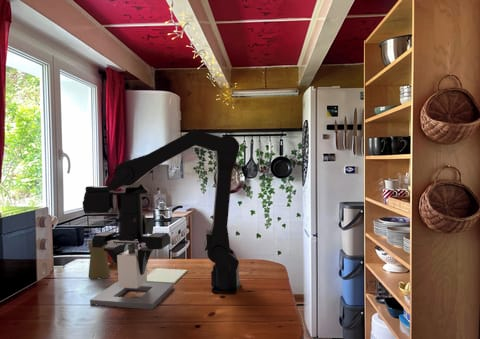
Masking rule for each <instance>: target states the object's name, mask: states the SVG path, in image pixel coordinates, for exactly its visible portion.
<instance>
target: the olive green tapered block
mask: <svg viewBox="0 0 480 339" xmlns="http://www.w3.org/2000/svg"><path fill="white" fill-rule="evenodd" d="M87 246H88V247H87V248H88V250H89V251H90V254H89V266H88V267H89V268H88V276H87V278H88V277H89V278H91V279H90V280H99V279H98V278H102V279H104V278H103V277H105V278H107V277H106V276H108V275H109V274H110V275H111V271H110V270H111V269H110V266H109V263H108V260H107V255H106V251H104V248H105V245H104V247H102V248H97V247H92V239H91V240H90V241H89V242H88V245H87ZM110 275H109V276H110ZM109 276H108V277H109ZM89 278H88V279H89Z"/></svg>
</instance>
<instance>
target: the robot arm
mask: <svg viewBox="0 0 480 339" xmlns="http://www.w3.org/2000/svg"><path fill="white" fill-rule="evenodd" d="M194 147H198V148H203V149H206V150H208V151H212V152H214V158H215V163H216V165H215V167H216V181H215V192H214V203H213V213H212V214H213V215H212V216H213V217H212V223H211V226H210V227H211V228H210V229H205V230H204V231H205V232H204V233H205V240H204V242H203V247H204V249H203V250H204V252H206V256H207V258H208V259H209V261H211V262H212V263H214V264H213V265H212V270H211V272H210V279H211V280H210V281H211V282H210V283H211V287H212V288H211V292H212V293H224V294H237V292H238V290H239V288H240V286H241V285H242V283H241V281H240V268H239V267H240V266H239V265H240V262H239V259H238V256H237V255H236V253H235V250H233V249H232V248H231V247H230V238H229V237H230V236H229V228H228V223H229V222H228V221H229V211H230V198H231V189H232V188H231V187H232V179H233V178H232V175H233V171H234V168H235V165H236V162H237V160H238V155H239V152H240V151H239V150H240V144H239V141H238V140H237V138H235V137H234V136H232V135H224V136H219V135H215V134H211V133H207V132H205V131H200V130H199V129H191V130H189V131H188V132H187V133H185V134H183V135H181V136H179V137H177V138H175V139H174V140H172V141H170V142H168V143H166V144H165V145H163V146H161V147H158V148H157V149H155V150H153V151H151V152H149V153H148V154H145V155H142V156H138V157H135V158H132V159H129V160H125V161H122V162H120V163H119V164H117V165H116V166H115V168H114V172H113V177H112V179H111V180H110V182H109V183H108V184H107V185H105V186H95V185H89V186H86V187H85V189H84V190H85V192H84V196H83V201H82V209H83V212H84V214H85V215H97V214H98V215H100V214H110V213H112V210H115V209H116V207H117V217H115V218H114V222H115V223H118V232H117V231H109V230H107V231H102V232H100V233H97V234H94V235H93V237H92V239H91V240H92V247H97V248H102V247H104V245H105V248H104V251H107V253H108V254H109V255H110V257H111V258H112V259H113V261H114V263H115V264H114V265H115V266H116V268H117V269H118V263H117V255H118V254H120V253H122V252H124V251H125V250H126V246H127V244H128V245H129V244H135V245H141V247H140V248H139V249H136V250H137V251H138V260H139V269H140V274H141V275H143V274H144V273H145V269H146V267H148V266H147V265H148V263H149V260H150V257H151V255H152V252H153V251H154V250H162V249H164V248H166V247H167V246H169V245H170V244H171V236H170V234H169V232H154V225H155V222H154V221H151V220H149V219H146V214H145V213H143V201H142V195H143V194H149V192H150V189H149V188H147V187H146V186H145V185H144V183H140V184H139V186H131V185H134V184H136V183H138V182H139V181H140V180H141V179H143V178H144V177H145V176H147V175H148V174H149V173H150V172H152V170H154V169H156V167H158V166H160V165H161V164H163V163H166V162H167V161H169V160H171V159H173V158H175V157H176V156H179V155H180V154H182V153H184V152H186V151H188V150H190V149H192V148H194ZM125 186H127V187H126V188H125V190H120V189H121V188H123V187H125ZM116 190H117V191H116ZM118 190H120V191H118Z"/></svg>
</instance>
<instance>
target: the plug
mask: <svg viewBox="0 0 480 339" xmlns="http://www.w3.org/2000/svg"><path fill="white" fill-rule="evenodd" d="M137 250H138V249H136V244H128V245H127V249H125V250H124V252H122V253H120V254H118V255H117V263H118V268H117V280H118V286H119V287H120V288H139V287H140V286H141V285H142V284H144V283H145V282H146V281H147V275H148V272H147V270H148V269H147V267H148V266H146V269H145V273H144V274H143V275H141V274H140V269H139V260H138V251H137Z"/></svg>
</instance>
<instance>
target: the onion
mask: <svg viewBox="0 0 480 339" xmlns="http://www.w3.org/2000/svg"><path fill="white" fill-rule="evenodd" d="M106 255H107V260H108V264H111V265H116V264H115V263H114V261H113V259H112V258H111V257H110V255H109V254H108V253H107V251H106Z"/></svg>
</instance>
